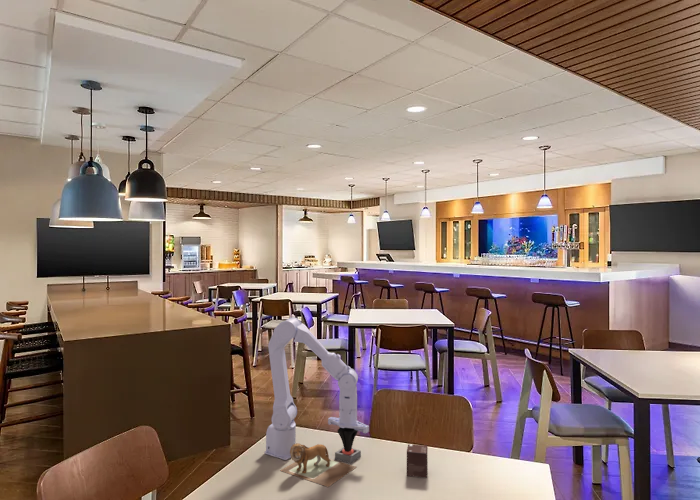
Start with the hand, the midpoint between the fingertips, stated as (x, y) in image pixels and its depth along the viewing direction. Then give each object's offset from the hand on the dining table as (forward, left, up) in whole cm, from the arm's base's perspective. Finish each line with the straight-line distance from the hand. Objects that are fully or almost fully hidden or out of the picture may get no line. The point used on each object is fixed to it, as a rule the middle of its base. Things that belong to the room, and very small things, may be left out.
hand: (348, 450), depth 154 cm
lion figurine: (-5, -14, -2) cm, 14 cm away
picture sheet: (-3, -12, -2) cm, 12 cm away
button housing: (0, 0, -2) cm, 2 cm away
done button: (0, 0, -1) cm, 1 cm away
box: (+23, +3, -3) cm, 23 cm away
